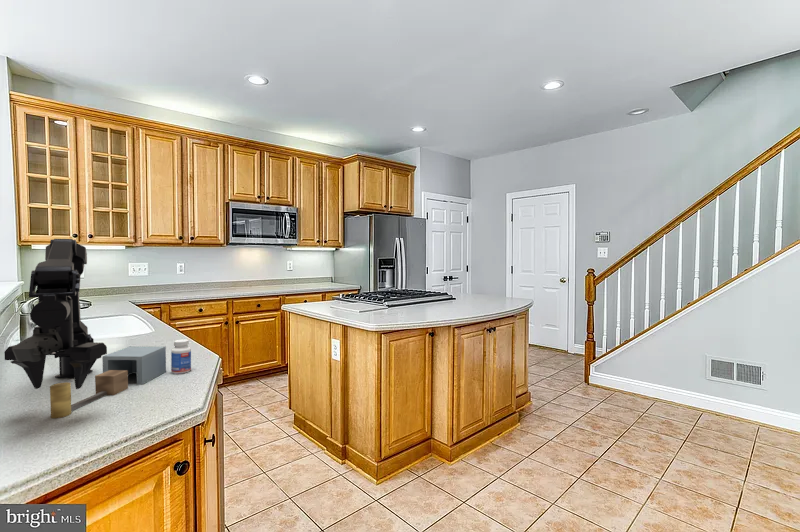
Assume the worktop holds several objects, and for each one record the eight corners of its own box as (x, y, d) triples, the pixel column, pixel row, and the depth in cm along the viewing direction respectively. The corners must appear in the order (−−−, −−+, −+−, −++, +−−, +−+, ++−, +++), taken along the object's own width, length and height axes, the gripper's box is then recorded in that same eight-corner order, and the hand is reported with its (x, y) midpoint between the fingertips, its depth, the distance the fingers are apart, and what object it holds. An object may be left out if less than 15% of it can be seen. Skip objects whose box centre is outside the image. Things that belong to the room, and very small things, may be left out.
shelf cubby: (103, 384, 111) (102, 356, 110) (130, 371, 122) (130, 346, 122) (142, 384, 111) (141, 356, 110) (166, 371, 122) (165, 346, 122)
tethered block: (43, 417, 89) (42, 387, 88) (110, 387, 108) (110, 362, 108) (64, 418, 88) (63, 388, 88) (128, 388, 108) (127, 363, 107)
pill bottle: (182, 374, 120) (181, 343, 119) (167, 373, 121) (166, 342, 120) (195, 369, 125) (194, 339, 124) (180, 368, 126) (180, 338, 126)
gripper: (-24, 327, 80) (-21, 402, 81) (68, 327, 81) (70, 402, 81) (27, 317, 92) (29, 383, 92) (107, 318, 92) (109, 384, 92)
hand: (58, 388), depth 89 cm, fingers open, 9 cm apart
